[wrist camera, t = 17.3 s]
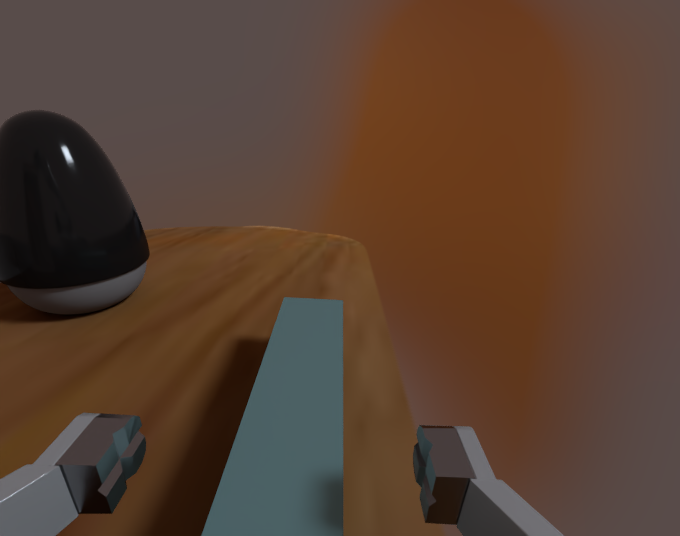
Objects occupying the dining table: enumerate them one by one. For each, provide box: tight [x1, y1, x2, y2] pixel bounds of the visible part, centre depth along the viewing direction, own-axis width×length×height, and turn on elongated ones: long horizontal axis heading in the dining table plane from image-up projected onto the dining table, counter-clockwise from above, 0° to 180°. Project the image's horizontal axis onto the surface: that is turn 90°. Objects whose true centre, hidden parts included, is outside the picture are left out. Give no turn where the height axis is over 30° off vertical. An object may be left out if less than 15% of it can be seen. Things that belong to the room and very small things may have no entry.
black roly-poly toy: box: [0, 110, 150, 314], centre depth 27 cm, size 10×10×15 cm
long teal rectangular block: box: [201, 297, 343, 536], centre depth 15 cm, size 4×19×4 cm, turn 179°
